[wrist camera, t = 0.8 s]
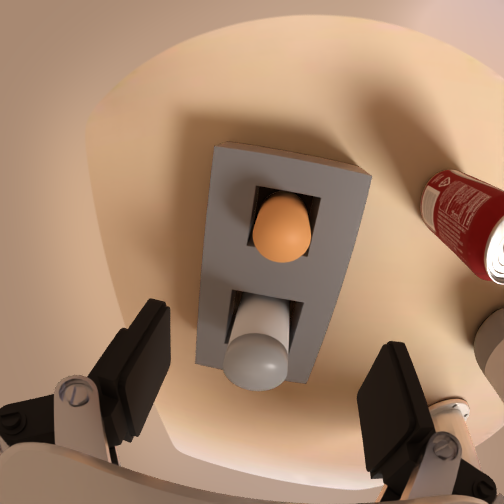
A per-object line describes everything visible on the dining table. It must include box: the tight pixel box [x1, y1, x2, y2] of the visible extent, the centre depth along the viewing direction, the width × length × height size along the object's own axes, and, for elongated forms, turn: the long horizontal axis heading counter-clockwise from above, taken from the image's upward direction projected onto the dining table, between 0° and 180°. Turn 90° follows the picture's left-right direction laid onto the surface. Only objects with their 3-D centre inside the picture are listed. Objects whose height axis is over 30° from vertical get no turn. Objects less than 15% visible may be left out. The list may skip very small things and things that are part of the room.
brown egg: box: [253, 191, 311, 263], centre depth 24 cm, size 4×4×5 cm
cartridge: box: [223, 292, 290, 391], centre depth 28 cm, size 5×5×11 cm
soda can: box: [420, 169, 504, 285], centre depth 21 cm, size 7×7×12 cm
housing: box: [195, 142, 372, 384], centre depth 29 cm, size 22×12×5 cm, turn 171°
